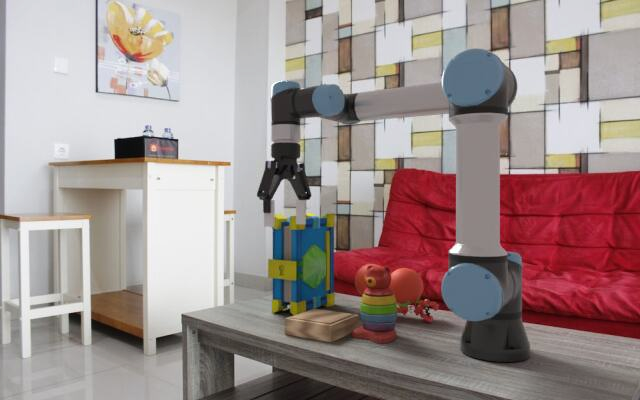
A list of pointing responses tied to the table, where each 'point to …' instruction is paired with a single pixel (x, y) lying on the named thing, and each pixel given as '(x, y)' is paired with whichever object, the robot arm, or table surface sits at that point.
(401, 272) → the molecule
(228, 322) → the table surface
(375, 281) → the stacking bear
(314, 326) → the oak stand
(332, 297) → the decorative book
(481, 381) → the table surface
